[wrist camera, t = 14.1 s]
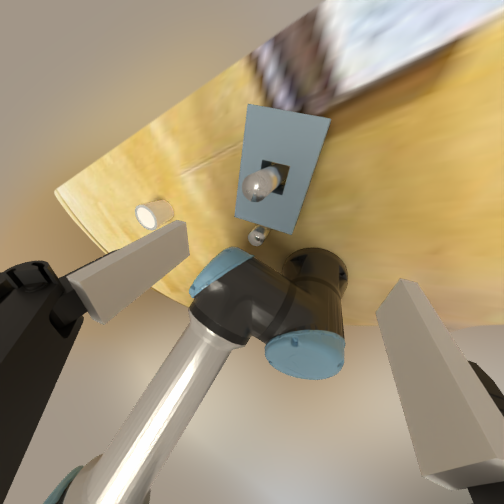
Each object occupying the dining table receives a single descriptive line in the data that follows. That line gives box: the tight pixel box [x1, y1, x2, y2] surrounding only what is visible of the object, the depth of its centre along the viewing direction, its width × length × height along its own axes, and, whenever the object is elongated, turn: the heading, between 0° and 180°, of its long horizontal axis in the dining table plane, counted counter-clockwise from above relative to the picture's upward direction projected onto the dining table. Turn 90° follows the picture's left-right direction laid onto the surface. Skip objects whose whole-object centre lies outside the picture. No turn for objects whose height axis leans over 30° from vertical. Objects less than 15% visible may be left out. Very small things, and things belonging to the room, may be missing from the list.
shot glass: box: [135, 200, 174, 230], centre depth 49 cm, size 7×7×7 cm
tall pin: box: [242, 163, 290, 202], centre depth 29 cm, size 4×4×16 cm
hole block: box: [234, 104, 331, 235], centre depth 33 cm, size 18×12×7 cm, turn 170°
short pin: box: [248, 224, 271, 246], centre depth 41 cm, size 4×4×6 cm
